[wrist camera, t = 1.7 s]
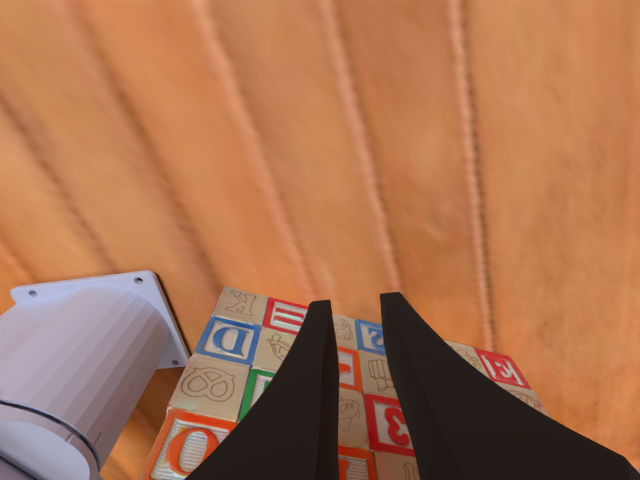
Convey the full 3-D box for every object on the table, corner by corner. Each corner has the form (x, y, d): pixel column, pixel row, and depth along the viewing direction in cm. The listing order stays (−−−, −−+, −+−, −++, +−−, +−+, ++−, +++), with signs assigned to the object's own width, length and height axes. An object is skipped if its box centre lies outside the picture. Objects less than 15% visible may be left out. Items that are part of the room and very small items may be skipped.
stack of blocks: (512, 352, 25) (664, 576, 14) (471, 407, 28) (572, 632, 17) (222, 283, 22) (126, 495, 11) (208, 352, 25) (120, 577, 14)
